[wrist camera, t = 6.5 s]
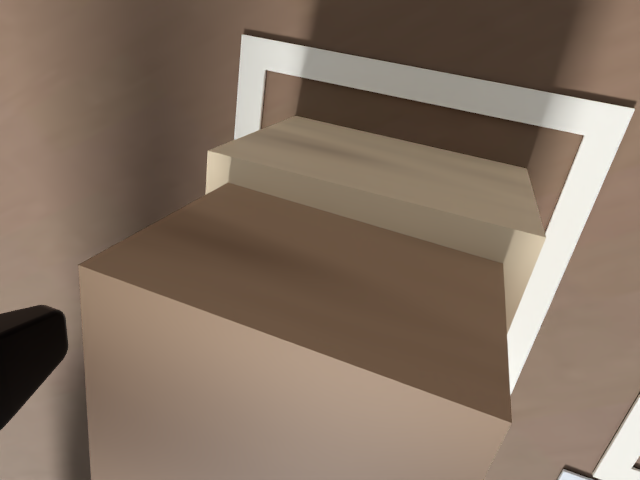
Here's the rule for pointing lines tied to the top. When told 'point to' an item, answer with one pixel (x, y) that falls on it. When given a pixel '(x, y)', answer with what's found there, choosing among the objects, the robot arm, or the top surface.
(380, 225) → the maple block
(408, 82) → the blueprint lines
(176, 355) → the light brown wooden block
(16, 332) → the robot arm
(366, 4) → the top surface
